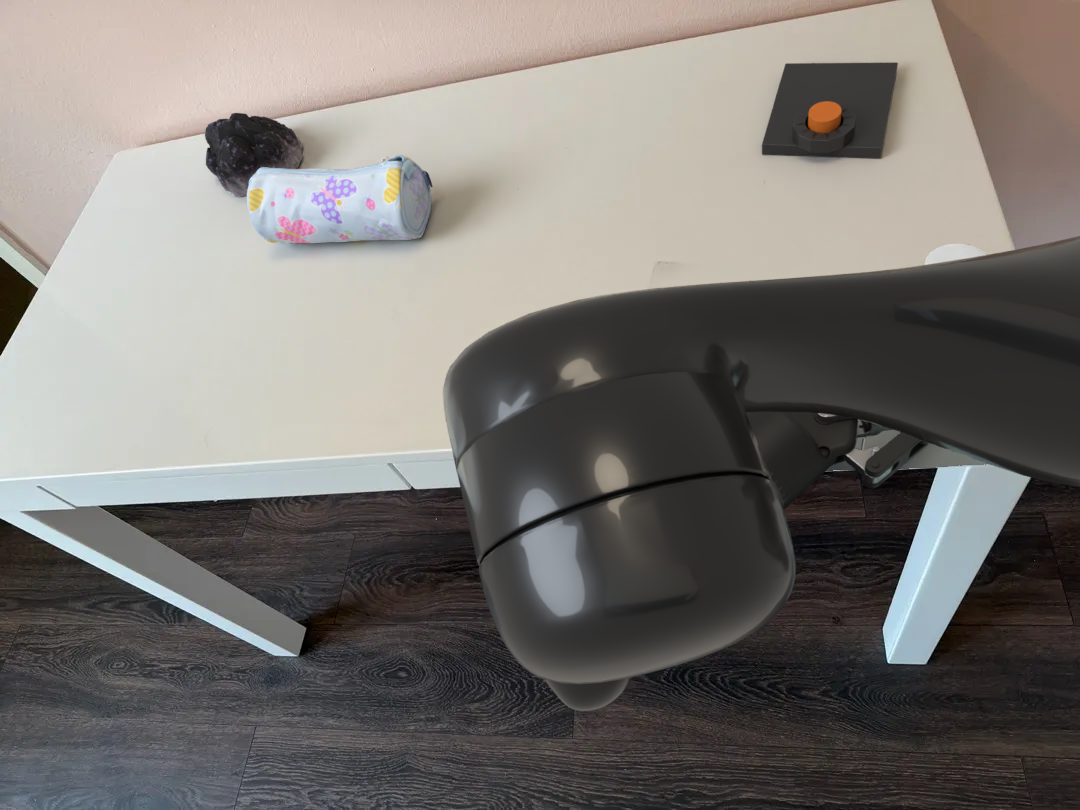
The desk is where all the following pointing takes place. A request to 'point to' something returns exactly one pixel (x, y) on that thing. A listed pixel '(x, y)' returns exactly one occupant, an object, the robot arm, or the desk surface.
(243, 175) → the crystal cluster
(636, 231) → the desk surface
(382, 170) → the pencil case
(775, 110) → the scale
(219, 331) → the desk surface
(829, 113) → the button
